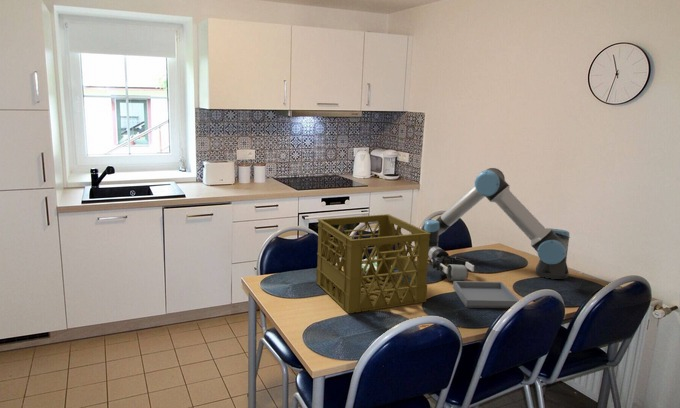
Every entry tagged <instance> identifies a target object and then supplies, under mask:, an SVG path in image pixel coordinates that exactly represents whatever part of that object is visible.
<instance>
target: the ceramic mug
mask: <svg viewBox="0 0 680 408" xmlns="http://www.w3.org/2000/svg"><path fill="white" fill-rule="evenodd" d="M446 267H447V268H448V274H446V273H445V274H446V278H447V280H448V281H450V282H454V281H466V279H467V278H468V275H469V274H468V273H469V272H468V270H469V269H467V268H466V266H464V265H457V264H454V265H453V264H447V265H446Z"/></svg>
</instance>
